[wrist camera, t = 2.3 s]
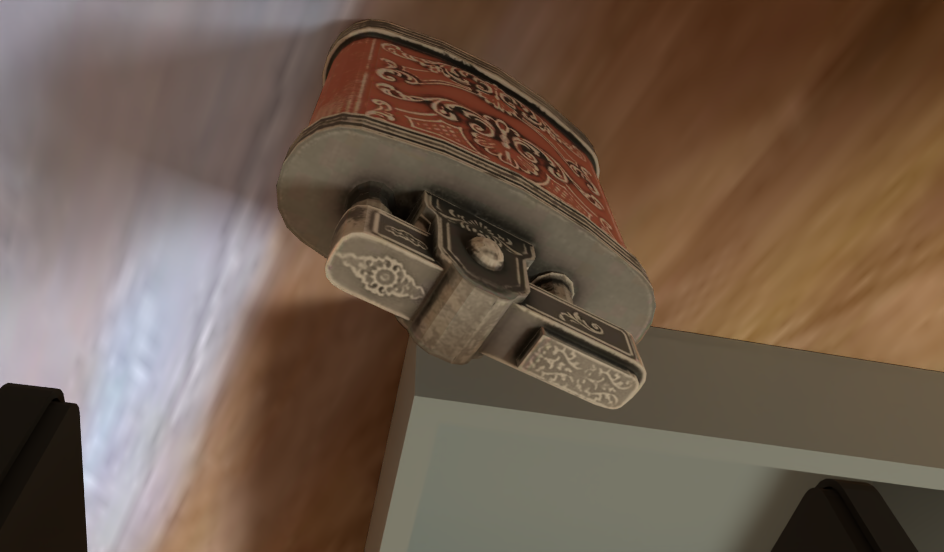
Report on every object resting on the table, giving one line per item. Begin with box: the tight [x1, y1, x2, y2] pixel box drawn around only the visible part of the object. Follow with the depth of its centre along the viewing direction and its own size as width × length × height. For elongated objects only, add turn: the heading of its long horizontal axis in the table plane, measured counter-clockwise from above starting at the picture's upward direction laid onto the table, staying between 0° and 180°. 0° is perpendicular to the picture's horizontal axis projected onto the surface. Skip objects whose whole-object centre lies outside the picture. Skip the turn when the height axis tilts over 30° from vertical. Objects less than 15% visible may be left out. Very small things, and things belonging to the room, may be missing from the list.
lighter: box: [277, 19, 656, 409], centre depth 17 cm, size 8×3×10 cm, turn 60°
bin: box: [364, 327, 944, 552], centre depth 27 cm, size 19×15×5 cm
